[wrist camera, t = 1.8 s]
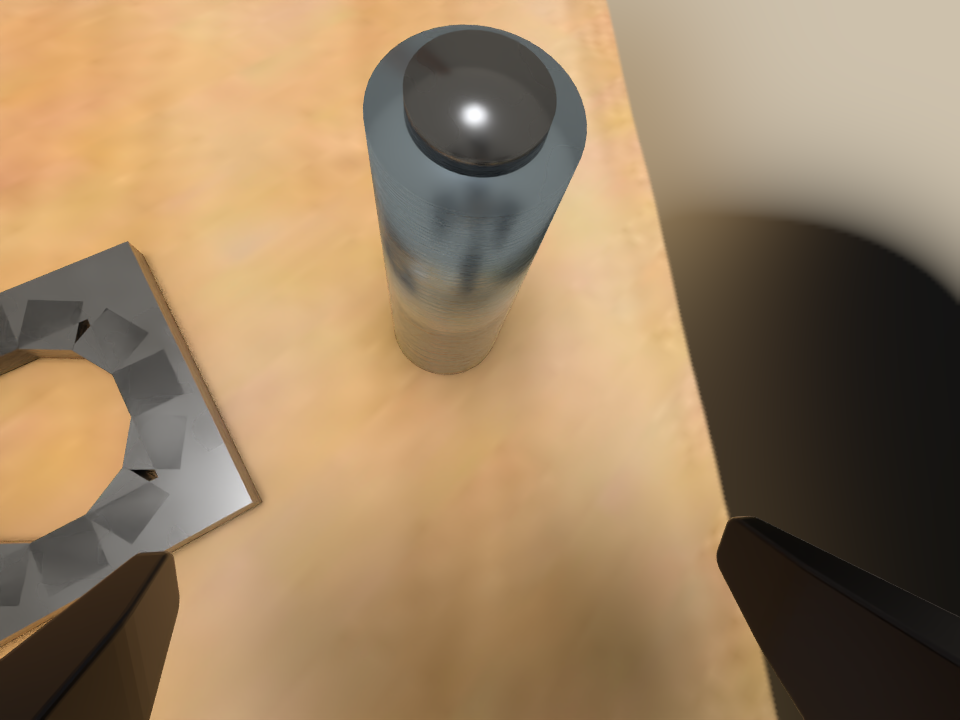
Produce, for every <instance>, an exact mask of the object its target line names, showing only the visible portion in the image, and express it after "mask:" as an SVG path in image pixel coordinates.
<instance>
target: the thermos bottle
mask: <svg viewBox="0 0 960 720" xmlns="http://www.w3.org/2000/svg"><path fill="white" fill-rule="evenodd" d="M363 119H364V126H365V132H366V139H367V146H368V153H369V160H370V167H371V174H372V180H373V187H374V194H375V201H376V208H377V215H378V221H379V228H380V235H381V242H382V249H383V256H384V262H385V269H386V276H387V283H388V290H389V297H390V304H391V310H392V317H393V324H394V331H395V336H396V339H397V342H398V344H399V347H400V348H401V350H402V352H403V353H404V354H405V355H406V357H407V358H408V359H409V360H410V361H411V362H413V363H414V364H415V365H417V366H418V367H420V368H422V369H424V370H426V371H429V372H432V373H437V374H456V373H461V372H464V371H467V370H469V369H471V368H473V367H474V366H476V365H478V364H479V363H480V362H481V361H482V360H483V359H484V358H485V357H486V356H487V355H488V353H489V352H490V350H491V348H492V346H493V344H494V342H495V340H496V338H497V336H498V333H499V331H500V329H501V327H502V325H503V323H504V321H505V319H506V316H507V314H508V312H509V310H510V308H511V306H512V304H513V302H514V299H515V297H516V295H517V293H518V291H519V289H520V287H521V285H522V282H523V280H524V278H525V276H526V274H527V272H528V270H529V267H530V265H531V263H532V261H533V259H534V257H535V255H536V253H537V250H538V248H539V246H540V244H541V242H542V240H543V238H544V236H545V233H546V231H547V229H548V227H549V225H550V223H551V221H552V219H553V216H554V214H555V212H556V210H557V208H558V206H559V204H560V201H561V199H562V197H563V195H564V193H565V191H566V189H567V187H568V184H569V182H570V180H571V178H572V176H573V174H574V172H575V170H576V167H577V165H578V163H579V161H580V159H581V156H582V153H583V150H584V147H585V141H586V135H587V121H586V115H585V109H584V106H583V103H582V99H581V97H580V95H579V92H578V90H577V88H576V86H575V85H574V83H573V81H572V80H571V78H570V77H569V75H568V74H567V73H566V72H565V70H564V69H563V68H562V67H561V66H560V65H559V64H558V63H557V62H556V61H555V60H554V59H553V58H552V57H551V56H550V55H549V54H547V53H546V52H545V51H543V50H542V49H541V48H539V47H538V46H536V45H534V44H533V43H531V42H530V41H527V40H525V39H523V38H521V37H519V36H517V35H514V34H512V33H509V32H506V31H503V30H499V29H495V28H491V27H485V26H478V25H449V26H444V27H438V28H434V29H430V30H427V31H423V32H421V33H419V34H416V35H414V36H412V37H410V38H408V39H406V40H405V41H403V42H401V43H400V44H398V45H397V46H396V47H394V48H393V49H392V50H391V51H390V52H389V53H388V54H387V55H386V56H385V57H384V58H383V59H382V60H381V61H380V63H379V64H378V65H377V67H376V68H375V70H374V71H373V73H372V75H371V77H370V79H369V81H368V85H367V88H366V91H365V96H364V103H363Z"/></svg>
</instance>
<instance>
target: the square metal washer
mask: <svg viewBox="0 0 960 720" xmlns="http://www.w3.org/2000/svg"><path fill="white" fill-rule="evenodd" d="M40 357H44V358H86V359H87V360H89V361H91V362H92V363H94V364H96V365H97V366H99V367H101V368H102V369H104V370H106V371H107V372H109V373H111V374H112V375H113V377H114V379H115V382H116V384H117V386H118V388H119V391H120V393H121V395H122V397H123V400H124V402H125V404H126V406H127V409H128V411H129V413H130V415H131V421H130V427H129V433H128V438H127V444H126V450H125V456H124V462H123V467H122V469H121V470H120V472H119V473H118V474H117V475H116V477H115V478H114V479H113V480H112V482H111V483H110V484H109V486H108V487H107V488H106V489H105V491H104V492H103V493H102V495H101V496H100V497H99V498H98V500H97V501H96V502H95V504H94V505H93V506H92V507H91V509H90V510H89V511H88V513H87V514H86V515H84V516H82V517H80V518H78V519H76V520H74V521H72V522H70V523H68V524H66V525H65V526H63V527H61V528H59V529H57V530H55V531H53V532H51V533H49V534H47V535H45V536H43V537H41V538H39V539H37V540H35V541H3V542H0V647H1V646H3V645H4V644H6V643H8V642H10V641H12V640H14V639H15V638H17V637H19V636H21V635H23V634H24V633H26V632H28V631H30V630H32V629H33V628H35V627H37V626H39V625H41V624H42V623H44V622H46V621H48V620H50V619H51V618H53V617H55V616H57V615H58V614H59V613H61V612H62V611H63V610H65V609H66V608H67V607H68V606H70V605H71V604H72V603H74V602H75V601H76V600H77V599H79V598H80V597H81V596H83V595H84V594H85V593H86V592H88V591H89V590H90V589H91V588H93V587H94V586H95V585H97V584H98V583H99V582H100V581H102V580H103V579H104V578H106V577H107V576H108V575H109V574H111V573H112V572H113V571H115V570H116V569H117V568H118V567H120V566H121V565H122V564H124V563H125V562H126V561H127V560H129V559H130V558H131V557H133V556H134V555H136V554H138V553H142V552H157V551H168V552H170V553H171V552H173V551H174V550H176V549H178V548H180V547H182V546H183V545H185V544H187V543H189V542H191V541H193V540H194V539H196V538H198V537H200V536H202V535H203V534H205V533H207V532H209V531H211V530H212V529H214V528H216V527H218V526H220V525H221V524H223V523H225V522H227V521H229V520H231V519H232V518H234V517H236V516H238V515H240V514H241V513H243V512H245V511H247V510H249V509H250V508H252V507H254V506H256V505H258V504H259V503H261V502H262V501H261V499H260V497H259V495H258V493H257V491H256V489H255V487H254V485H253V483H252V480H251V478H250V476H249V474H248V472H247V470H246V468H245V466H244V464H243V462H242V460H241V458H240V456H239V453H238V451H237V449H236V447H235V445H234V443H233V441H232V439H231V437H230V435H229V433H228V431H227V428H226V426H225V424H224V422H223V420H222V418H221V416H220V414H219V412H218V410H217V408H216V406H215V404H214V401H213V399H212V397H211V395H210V393H209V391H208V389H207V387H206V385H205V383H204V381H203V379H202V377H201V374H200V372H199V370H198V368H197V366H196V364H195V362H194V360H193V358H192V356H191V354H190V352H189V350H188V347H187V345H186V343H185V341H184V339H183V337H182V335H181V333H180V331H179V329H178V327H177V325H176V323H175V320H174V318H173V316H172V314H171V312H170V310H169V308H168V306H167V304H166V302H165V300H164V298H163V296H162V293H161V291H160V289H159V287H158V285H157V283H156V281H155V279H154V277H153V275H152V273H151V271H150V269H149V266H148V264H147V262H146V260H145V258H144V256H143V254H141V253H140V252H139V251H138V250H137V249H136V248H135V247H134V246H132V245H131V244H130V243H129V242H128V241H127V242H125V243H122V244H120V245H117V246H115V247H112V248H110V249H107V250H105V251H102V252H100V253H98V254H95V255H93V256H90V257H88V258H85V259H83V260H80V261H78V262H75V263H73V264H70V265H68V266H65V267H63V268H60V269H58V270H55V271H53V272H51V273H48V274H46V275H43V276H41V277H38V278H36V279H33V280H31V281H28V282H26V283H23V284H21V285H18V286H16V287H13V288H11V289H8V290H6V291H4V292H1V293H0V375H1V374H4V373H6V372H8V371H11V370H13V369H15V368H17V367H20V366H22V365H24V364H26V363H29V362H31V361H33V360H36V359H38V358H40ZM146 471H156V474H157V476H158V478H156V477H154V476H153V475H151V474H149V473H148V472H146Z"/></svg>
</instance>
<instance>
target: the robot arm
mask: <svg viewBox="0 0 960 720" xmlns="http://www.w3.org/2000/svg"><path fill="white" fill-rule="evenodd" d="M717 563H718V566H719V569H720V571H721V573H722V575H723V577H724V579H725V581H726V582H727V584H728V586H729V588H730V590H731V592H732V594H733V596H734V598H735V600H736V602H737V604H738V606H739V608H740V610H741V612H742V614H743V616H744V618H745V620H746V622H747V623H748V625H749V627H750V629H751V631H752V633H753V635H754V637H755V639H756V641H757V643H758V645H759V646H760V648H761V650H762V652H763V654H764V655H765V657H766V659H767V660H768V662H769V664H770V665H771V667H772V668H773V670H774V672H775V673H776V675H777V677H778V678H779V680H780V681H781V683H782V684H783V686H784V688H785V689H786V691H787V693H788V694H789V696H790V698H791V699H792V701H793V702H794V704H795V706H796V707H797V709H798V710H799V712H800V714H801V715H802V717H803V718H804V720H960V617H958V616H956V615H954V614H952V613H950V612H948V611H946V610H944V609H941V608H940V607H937V606H935V605H934V604H931V603H929V602H927V601H925V600H923V599H921V598H919V597H917V596H915V595H913V594H911V593H909V592H907V591H905V590H903V589H901V588H899V587H897V586H895V585H893V584H891V583H889V582H887V581H885V580H883V579H881V578H879V577H877V576H875V575H873V574H870V573H868V572H866V571H864V570H862V569H860V568H858V567H856V566H854V565H852V564H850V563H848V562H846V561H844V560H842V559H840V558H838V557H836V556H834V555H832V554H830V553H828V552H826V551H824V550H822V549H820V548H818V547H815V546H813V545H812V544H809V543H807V542H805V541H803V540H801V539H799V538H797V537H795V536H793V535H791V534H789V533H787V532H785V531H783V530H781V529H779V528H777V527H775V526H773V525H771V524H769V523H767V522H765V521H763V520H761V519H759V518H756V517H753V516H742V517H733V518H731V519H730V520H729V521H728V522H727V524H726V527H725V530H724V533H723V536H722V538H721V541H720V544H719V547H718V550H717ZM178 609H179V589H178V582H177V576H176V569H175V562H174V558H173V556H172V554H171V553H170V552H168V551H157V552H142V553H138V554H136V555H134V556H133V557H131V558H130V559H129V560H127V561H126V562H125V563H124V564H122V565H121V566H120V567H118V568H117V569H116V570H115V571H113V572H112V573H111V574H109V575H108V576H107V577H106V578H104V579H103V580H102V581H100V582H99V583H98V584H97V585H95V586H94V587H93V588H91V589H90V590H89V591H88V592H86V593H85V594H84V595H83V596H81V597H80V598H79V599H77V600H76V601H75V602H74V603H72V604H71V605H70V606H68V607H67V608H66V609H65V610H63V611H62V612H61V613H59V614H58V615H57V616H56V617H54V618H53V619H52V620H50V621H49V622H48V623H47V624H45V625H44V626H43V627H41V628H40V629H39V630H38V631H36V632H35V633H34V634H32V635H31V636H30V637H29V638H27V639H26V640H25V641H23V642H22V643H21V644H20V645H18V646H17V647H16V648H15V649H13V650H12V651H11V652H9V653H8V654H7V655H6V656H4V657H3V658H2V659H0V720H149V719H150V715H151V712H152V708H153V704H154V700H155V697H156V693H157V689H158V685H159V682H160V678H161V674H162V670H163V667H164V663H165V659H166V655H167V652H168V648H169V644H170V640H171V637H172V633H173V629H174V625H175V621H176V618H177V614H178Z"/></svg>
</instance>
